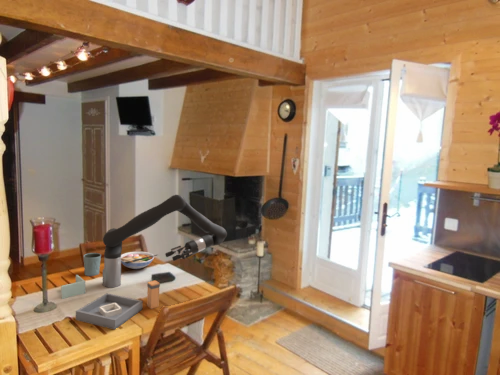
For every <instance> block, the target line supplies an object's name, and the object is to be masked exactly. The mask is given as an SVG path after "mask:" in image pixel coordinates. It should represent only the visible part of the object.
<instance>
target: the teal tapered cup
mask: <svg viewBox="0 0 500 375" xmlns="http://www.w3.org/2000/svg"><path fill="white" fill-rule="evenodd" d="M101 257H102V254H101V253H98V252H89V253H86V254H84V255H83V263H84V264H83V268H84V271H83V272H84V276H86V277H94V276H97V275H100V270H101V269H100V268H101V259H102V258H101Z"/></svg>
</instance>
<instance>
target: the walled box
mask: <svg viewBox="0 0 500 375" xmlns="http://www.w3.org/2000/svg"><path fill="white" fill-rule="evenodd" d="M143 302H144V300H141V299H135V298H131V297H126V296H123V295H122V296H121V295H117V294H112V293H107V292H106V293H104V294H103V295H101V296H100V297H97V298H96V299H95V300H93V301H91V302H89V303H87V304H86V305H84V306H81V307H80V308H79V309H77V310H75V321H78V322H82V323H86V324H87V323H88V324H91V325H95V326H98V327H103V328H106V327H107V329H112V330H117V329H118V328H119V327H121V326H122V325H123V324H124V323H126V322H127V321H128V320H130V319H131V318H133V317H134V316H136V315H137V314H138V313H139V312H141V311H142V310H143V308H144V307H143V306H144V304H143ZM116 328H117V329H116Z"/></svg>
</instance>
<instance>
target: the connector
mask: <svg viewBox="0 0 500 375" xmlns="http://www.w3.org/2000/svg"><path fill="white" fill-rule="evenodd" d="M146 284H147V299H146V302H147V303H146V306H147V307H148V308H149V309H151V310H152V309H155V308H159V307H160V305H159V304H160V287H161V284H160V282H158V281H157V280H155V279H154V280H152V281H147V283H146Z"/></svg>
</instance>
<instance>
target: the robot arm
mask: <svg viewBox="0 0 500 375" xmlns="http://www.w3.org/2000/svg"><path fill="white" fill-rule="evenodd" d="M174 212H178V213H180V214H183V215H184V216H186V218H188V219H189V220H190V221H192V223H193V224H194V225H195V226H197V227H198V228H199V229H200V230H202V231H203V232H204V233H206V234H205V235H202V236H201V237H197V238H194V239H192V240H190V241H188V242H187V241H186V242H185V244H184V246H181V245H178V246H176V247H173V248H171V249H170V251H168V252H166V253H165V254H164V255H165V257H166V258H169V257H171V256H172V259H171V260H172V261H173V262H174V261H177V260H179V259H181V260H185V259H187V258H188V257H191V256H193V255H196V254H198V253H200V252H203V251H204V250H206V249H208V248H210V247H214V246H218V245H221V244H222V243H223V242H224V241H225V239H226V238H227V236H228V232H227V230H226V229H225V228H224V227H223V226H221V225H218V224H217V223H214V222H213V221H211V220H210V219H208V217H206V216H205V215H203V214H202V213H201V212H199V211H197V210H196V209H195V208H193V207H192V205H190V203H189V202H188V201H187V200H186V199H185V198H184V197H183V196H182V195H181V194H173V195H171V196H170V197H169V198H167V199H166V200H164V201H162V202H161V203H160V204H158V205H156V206H153V207H151V208H149V209H147V210H145V211H144V212H141V213H139V214H137V215H136V216H134V217H133V218H131V219H130V220H129V221H128V222H127V223H125V224H123V225H122V226H120V227H118V228H115V227H114V228H110V229H108V231H107V232H106V233H105V234H104V235H103V238H102V242H103V244H104V246H105V247H104V254H103V255H104V257H103V259H104V260H103V264H104V266H103V269H102V285H103V286H104V287H106V288H116V287H119V286H121V284H122V263H121V255H122V252H123V242H124V241H125V240H127V239H128V238H130V237H133V236H134V235H136V234H138V233H141V232H142V231H144V230H146V229H149V228H150V227H152V226H154V225H155V224H157V223H158V222H159V221H160V220H161V219H162V218H164V217H166V216H167V215H169V214H172V213H174ZM209 233H211V235H210V234H209Z"/></svg>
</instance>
